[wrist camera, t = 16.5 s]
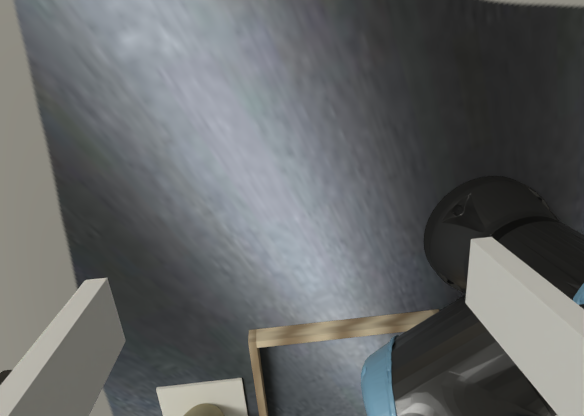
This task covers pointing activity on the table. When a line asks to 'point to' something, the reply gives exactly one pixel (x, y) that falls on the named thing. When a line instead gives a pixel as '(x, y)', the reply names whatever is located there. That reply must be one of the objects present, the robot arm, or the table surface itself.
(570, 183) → the table surface
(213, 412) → the flower pot
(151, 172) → the table surface
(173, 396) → the mat
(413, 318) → the wooden frame
